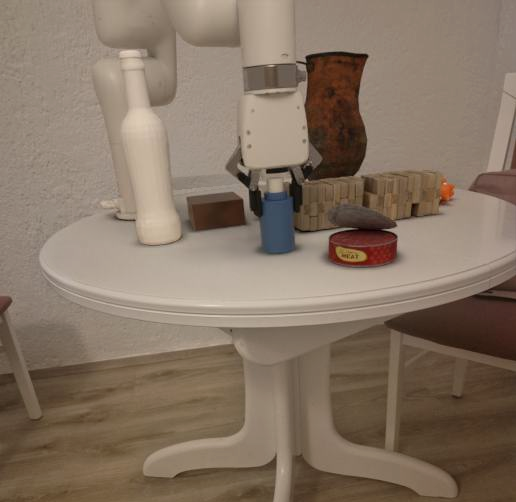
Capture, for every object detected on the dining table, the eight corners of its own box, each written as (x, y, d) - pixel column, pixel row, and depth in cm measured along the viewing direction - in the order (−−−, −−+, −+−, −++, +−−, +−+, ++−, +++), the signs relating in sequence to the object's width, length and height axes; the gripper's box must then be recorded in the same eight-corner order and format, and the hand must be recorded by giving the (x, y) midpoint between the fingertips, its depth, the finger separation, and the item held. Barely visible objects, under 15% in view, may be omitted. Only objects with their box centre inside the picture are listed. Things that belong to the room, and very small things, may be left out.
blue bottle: (266, 255, 75) (262, 182, 70) (258, 247, 80) (253, 177, 75) (299, 250, 76) (297, 178, 71) (289, 242, 81) (286, 174, 76)
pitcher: (372, 198, 111) (378, 45, 97) (280, 205, 111) (272, 54, 97) (358, 186, 125) (361, 53, 112) (276, 193, 126) (270, 60, 112)
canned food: (326, 285, 74) (306, 224, 74) (382, 268, 77) (363, 208, 76) (359, 271, 63) (335, 199, 63) (423, 251, 66) (400, 181, 65)
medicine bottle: (294, 210, 104) (292, 151, 98) (293, 218, 98) (291, 155, 92) (261, 212, 105) (258, 153, 99) (258, 219, 98) (254, 157, 93)
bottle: (190, 234, 91) (165, 49, 77) (169, 246, 84) (138, 46, 70) (152, 234, 93) (122, 54, 80) (129, 245, 87) (92, 51, 73)
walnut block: (195, 230, 93) (192, 204, 91) (189, 220, 102) (186, 196, 100) (245, 224, 95) (243, 198, 93) (235, 215, 104) (233, 191, 102)
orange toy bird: (411, 170, 105) (442, 177, 95) (440, 178, 108) (472, 186, 97) (403, 193, 107) (432, 202, 97) (431, 201, 110) (462, 211, 99)
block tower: (416, 211, 99) (281, 224, 93) (420, 168, 95) (280, 178, 89) (438, 218, 92) (294, 233, 86) (444, 172, 88) (294, 184, 82)
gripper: (318, 80, 72) (319, 203, 80) (205, 87, 69) (218, 215, 77) (337, 76, 66) (336, 211, 74) (214, 85, 62) (227, 224, 71)
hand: (276, 212), depth 75 cm, fingers closed on blue bottle, 5 cm apart
